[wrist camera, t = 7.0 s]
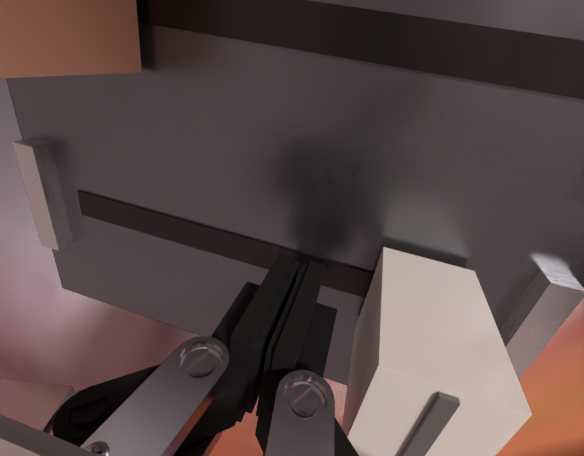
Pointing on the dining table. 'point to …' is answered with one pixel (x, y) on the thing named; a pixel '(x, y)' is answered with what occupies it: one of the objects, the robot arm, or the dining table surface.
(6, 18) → the fader terracotta
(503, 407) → the fader ivory
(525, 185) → the console
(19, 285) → the dining table surface
